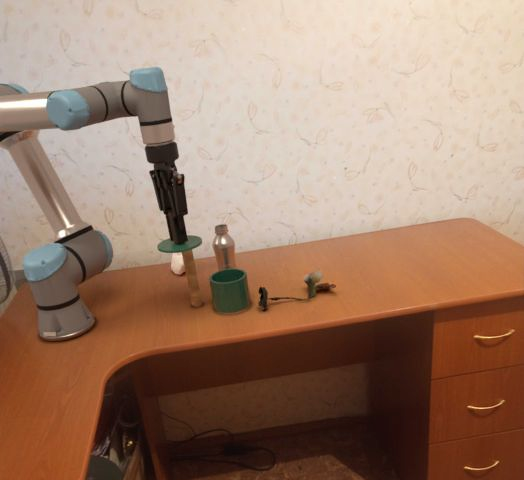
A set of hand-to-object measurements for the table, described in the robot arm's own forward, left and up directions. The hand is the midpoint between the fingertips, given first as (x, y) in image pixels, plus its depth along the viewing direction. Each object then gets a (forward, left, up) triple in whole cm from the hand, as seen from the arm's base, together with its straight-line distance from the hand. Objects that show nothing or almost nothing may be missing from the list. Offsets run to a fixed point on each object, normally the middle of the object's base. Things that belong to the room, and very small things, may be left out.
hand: (179, 240), depth 135 cm
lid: (0, 0, -1) cm, 1 cm away
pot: (+2, +13, -23) cm, 27 cm away
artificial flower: (+15, +25, -24) cm, 38 cm away
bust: (-34, +24, -24) cm, 48 cm away
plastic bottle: (-7, +21, -24) cm, 32 cm away
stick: (-8, +8, -23) cm, 26 cm away
